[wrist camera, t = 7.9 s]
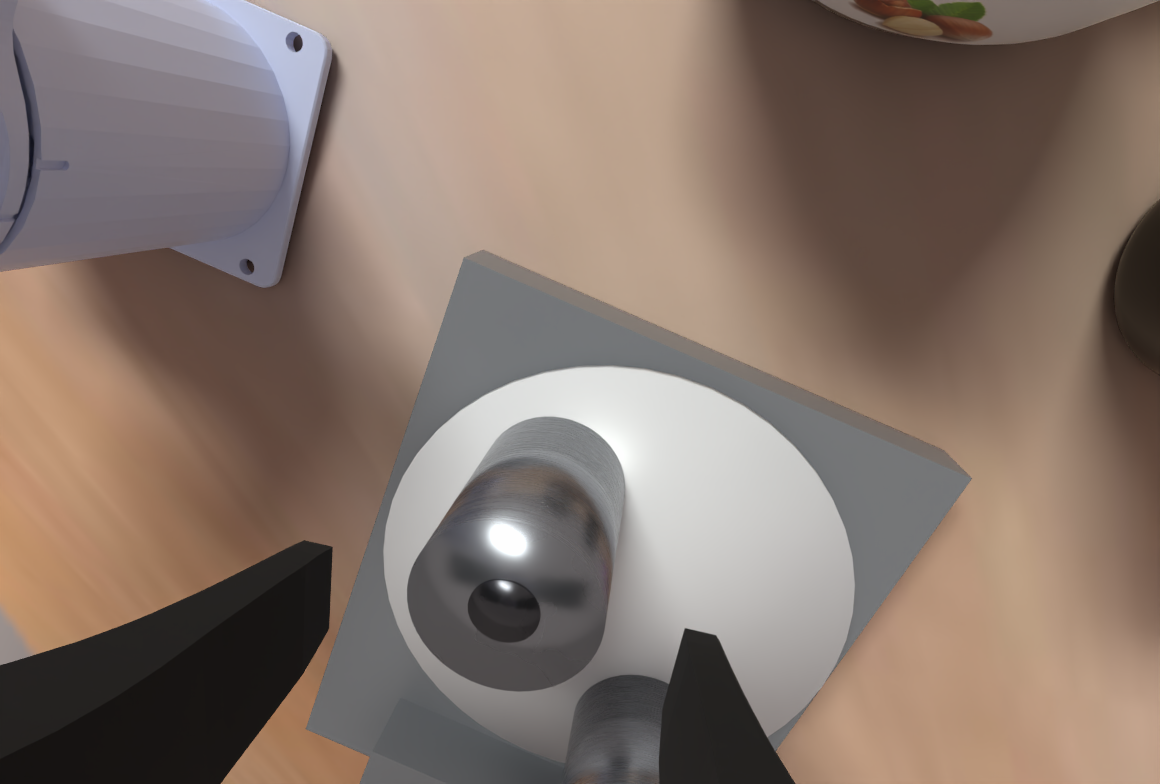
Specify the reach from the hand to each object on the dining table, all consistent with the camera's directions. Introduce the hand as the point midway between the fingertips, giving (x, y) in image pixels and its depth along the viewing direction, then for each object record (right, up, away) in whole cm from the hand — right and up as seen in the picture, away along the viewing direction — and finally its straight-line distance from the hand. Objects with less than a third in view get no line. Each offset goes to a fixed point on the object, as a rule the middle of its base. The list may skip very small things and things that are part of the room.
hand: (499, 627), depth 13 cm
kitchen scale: (+2, -3, +11) cm, 12 cm away
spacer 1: (+1, +2, +7) cm, 7 cm away
